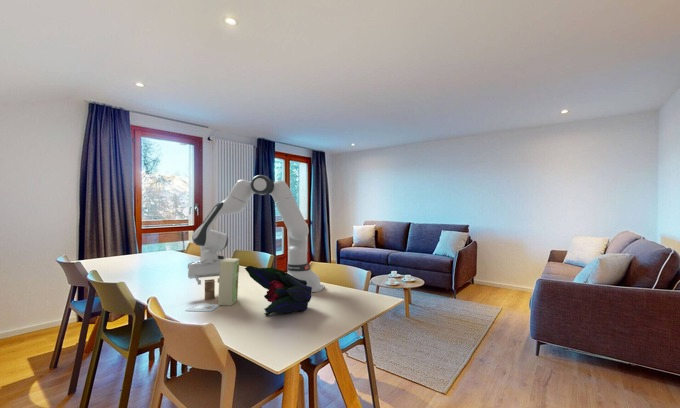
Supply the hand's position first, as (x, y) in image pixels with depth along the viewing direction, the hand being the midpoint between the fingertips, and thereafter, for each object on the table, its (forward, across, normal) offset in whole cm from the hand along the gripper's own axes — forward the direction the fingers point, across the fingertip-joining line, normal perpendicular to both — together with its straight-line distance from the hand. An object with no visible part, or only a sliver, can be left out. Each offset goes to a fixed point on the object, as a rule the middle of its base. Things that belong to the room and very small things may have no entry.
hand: (209, 283), depth 154 cm
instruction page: (+17, -3, -7) cm, 18 cm away
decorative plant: (+31, +27, -21) cm, 46 cm away
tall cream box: (+15, +8, -5) cm, 18 cm away
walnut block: (+7, 0, +4) cm, 8 cm away
